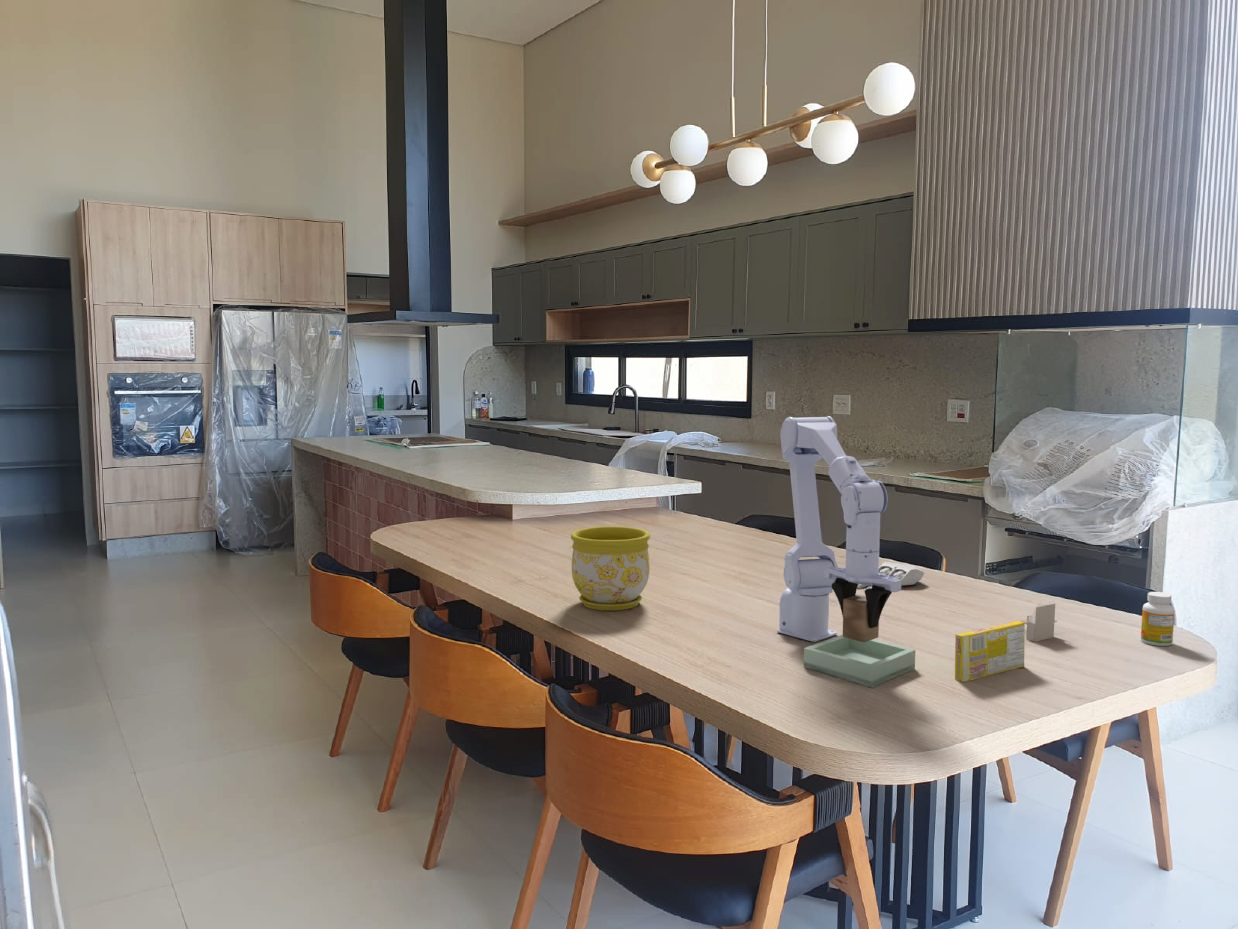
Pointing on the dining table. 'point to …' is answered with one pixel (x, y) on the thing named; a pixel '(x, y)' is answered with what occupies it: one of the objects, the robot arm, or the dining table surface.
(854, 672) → the bin
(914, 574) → the turret
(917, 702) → the dining table surface
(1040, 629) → the architectural model
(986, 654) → the candy box
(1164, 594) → the supplement bottle
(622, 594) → the flowerpot
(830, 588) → the robot arm
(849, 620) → the walnut block
